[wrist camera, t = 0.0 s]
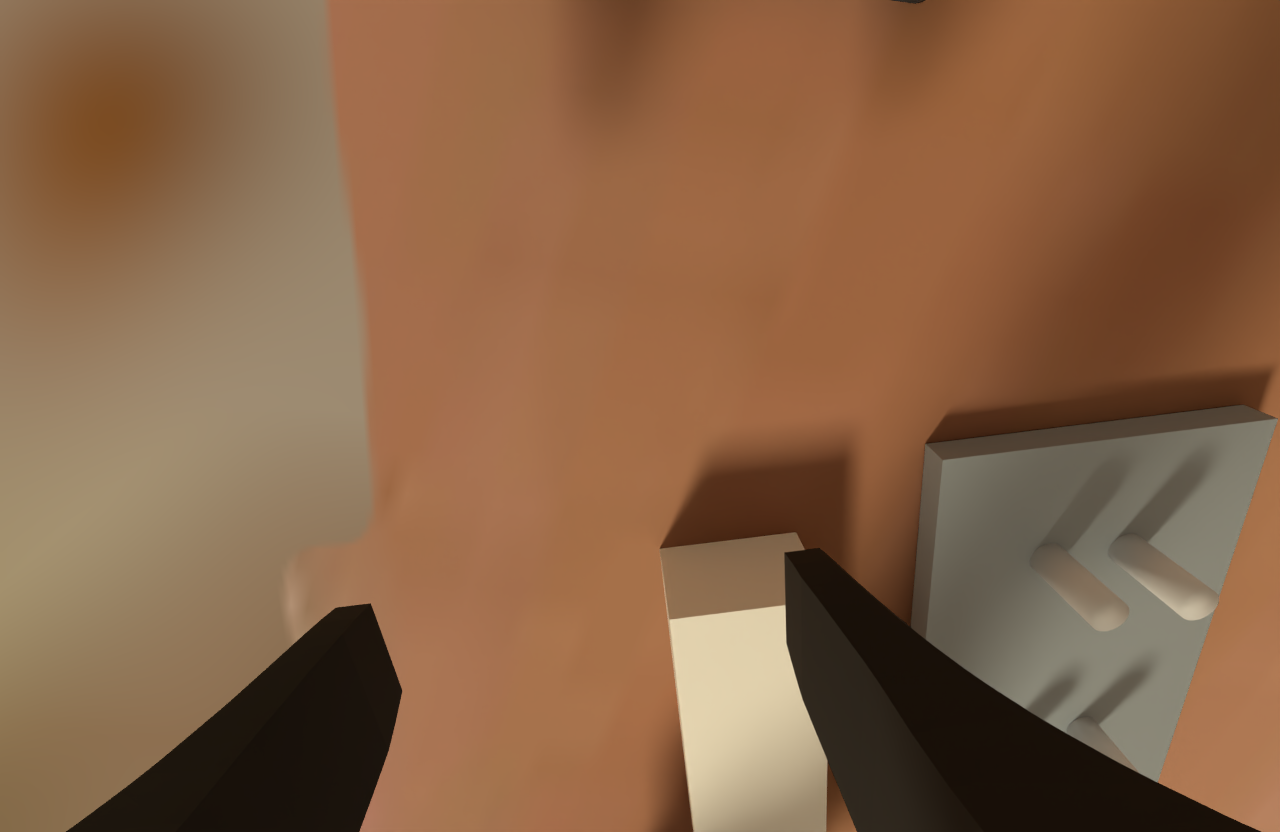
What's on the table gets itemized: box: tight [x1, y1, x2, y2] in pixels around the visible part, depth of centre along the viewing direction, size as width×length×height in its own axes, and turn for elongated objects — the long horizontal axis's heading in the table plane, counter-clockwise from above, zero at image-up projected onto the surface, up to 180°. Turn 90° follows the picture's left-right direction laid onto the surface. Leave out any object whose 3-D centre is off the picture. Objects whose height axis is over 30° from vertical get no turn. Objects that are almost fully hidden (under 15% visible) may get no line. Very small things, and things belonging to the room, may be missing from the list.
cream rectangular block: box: [660, 532, 827, 832], centre depth 24 cm, size 14×5×4 cm, turn 6°
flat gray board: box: [911, 405, 1278, 783], centre depth 23 cm, size 18×11×4 cm, turn 6°
